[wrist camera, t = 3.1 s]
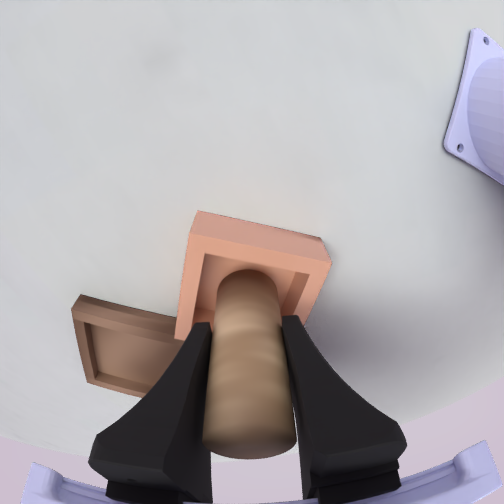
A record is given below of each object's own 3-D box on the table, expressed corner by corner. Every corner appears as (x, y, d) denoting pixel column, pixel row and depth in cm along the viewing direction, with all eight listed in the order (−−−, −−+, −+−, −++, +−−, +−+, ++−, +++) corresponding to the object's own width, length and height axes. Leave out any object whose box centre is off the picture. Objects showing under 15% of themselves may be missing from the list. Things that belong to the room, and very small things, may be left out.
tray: (291, 337, 19) (294, 354, 18) (259, 402, 23) (260, 417, 22) (80, 294, 17) (71, 309, 16) (92, 368, 21) (87, 382, 20)
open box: (320, 237, 16) (332, 262, 13) (283, 327, 19) (288, 357, 16) (197, 210, 15) (189, 232, 13) (181, 309, 18) (174, 338, 16)
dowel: (285, 275, 15) (311, 426, 8) (268, 321, 16) (279, 460, 9) (223, 263, 14) (208, 417, 7) (212, 311, 16) (197, 454, 9)
